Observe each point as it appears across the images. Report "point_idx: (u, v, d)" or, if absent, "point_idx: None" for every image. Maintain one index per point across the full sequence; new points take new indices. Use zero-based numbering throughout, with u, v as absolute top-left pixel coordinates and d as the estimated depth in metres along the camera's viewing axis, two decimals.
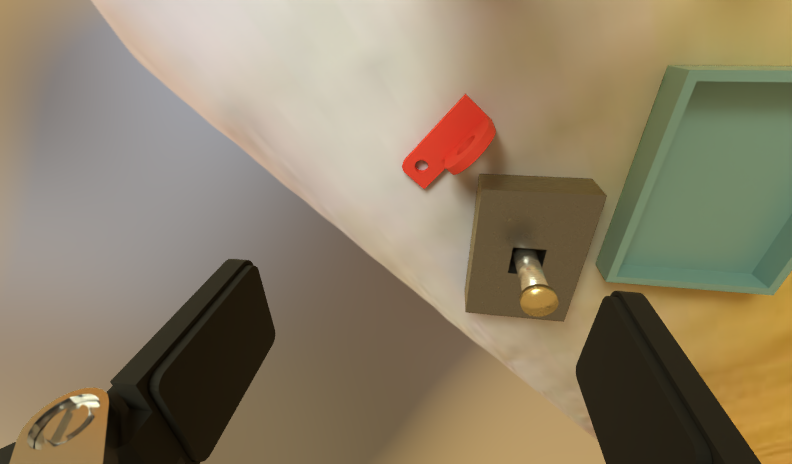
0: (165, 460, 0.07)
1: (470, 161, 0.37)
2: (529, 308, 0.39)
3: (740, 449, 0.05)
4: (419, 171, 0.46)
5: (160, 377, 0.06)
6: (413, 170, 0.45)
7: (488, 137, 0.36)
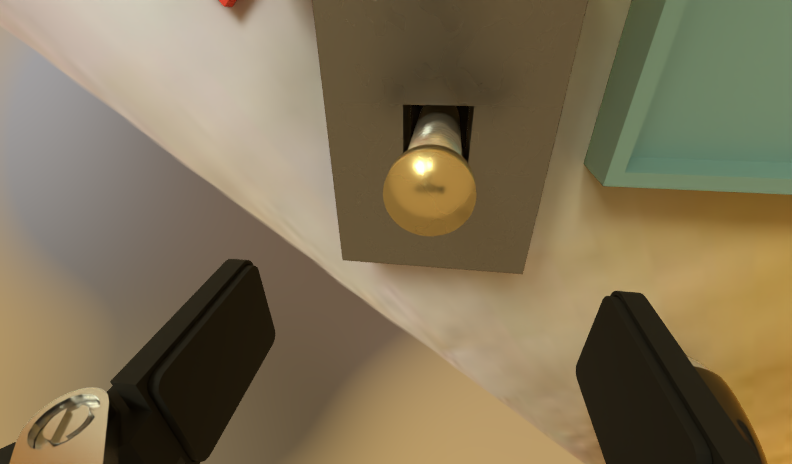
0: (165, 460, 0.07)
1: None
2: (408, 214, 0.15)
3: (740, 449, 0.05)
4: None
5: (160, 377, 0.06)
6: None
7: None
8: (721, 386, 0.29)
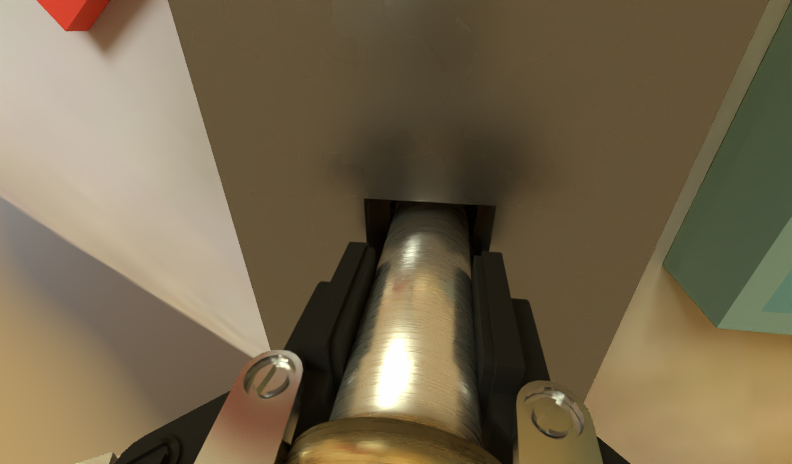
0: None
1: None
2: None
3: (513, 354, 0.06)
4: None
5: (337, 341, 0.07)
6: None
7: None
8: None
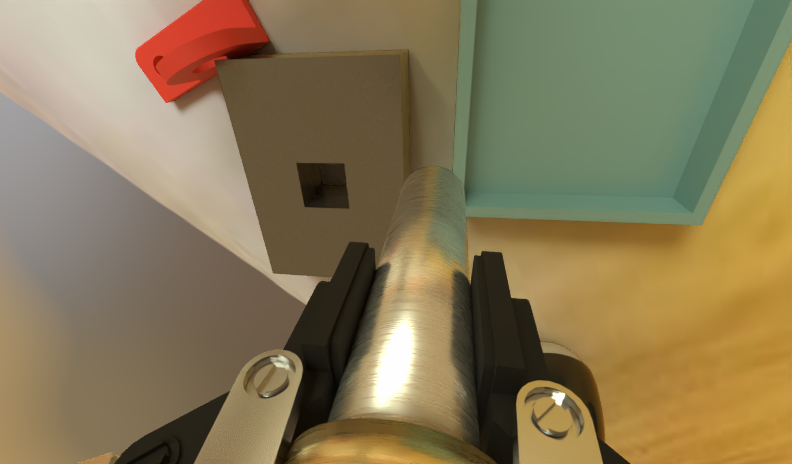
0: None
1: (174, 66, 0.24)
2: None
3: (513, 354, 0.06)
4: None
5: (337, 341, 0.07)
6: (151, 68, 0.31)
7: (213, 43, 0.24)
8: (577, 369, 0.37)
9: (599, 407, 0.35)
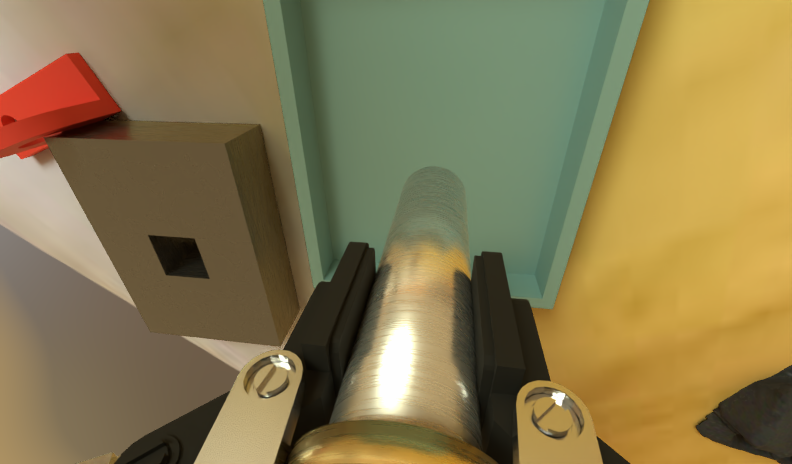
0: None
1: None
2: None
3: (513, 354, 0.06)
4: None
5: (337, 341, 0.07)
6: (0, 125, 0.29)
7: (26, 129, 0.23)
8: None
9: None
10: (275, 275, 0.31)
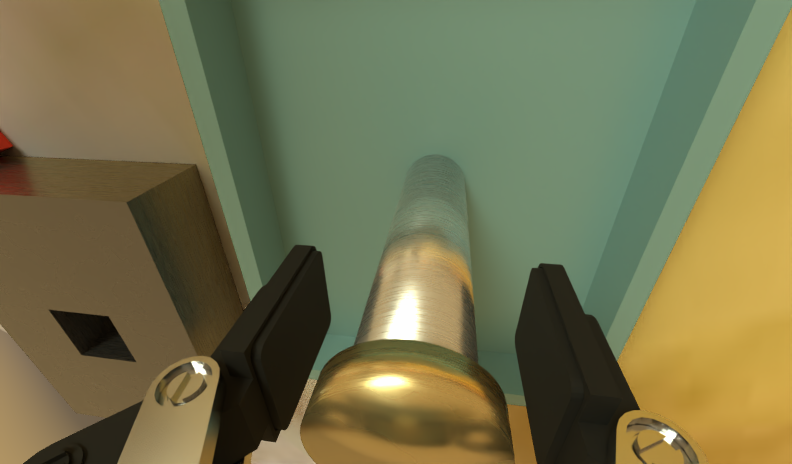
0: (259, 425, 0.07)
1: None
2: None
3: (605, 381, 0.06)
4: None
5: (260, 347, 0.07)
6: None
7: None
8: None
9: None
10: None
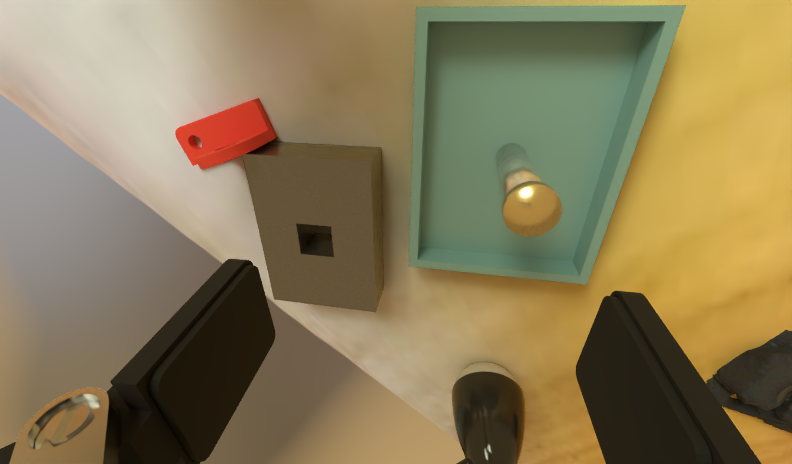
0: (165, 460, 0.07)
1: (209, 163, 0.34)
2: (517, 222, 0.25)
3: (740, 449, 0.05)
4: (194, 146, 0.42)
5: (160, 377, 0.06)
6: (186, 141, 0.41)
7: (237, 151, 0.35)
8: (507, 385, 0.47)
9: (520, 416, 0.45)
10: (377, 257, 0.43)
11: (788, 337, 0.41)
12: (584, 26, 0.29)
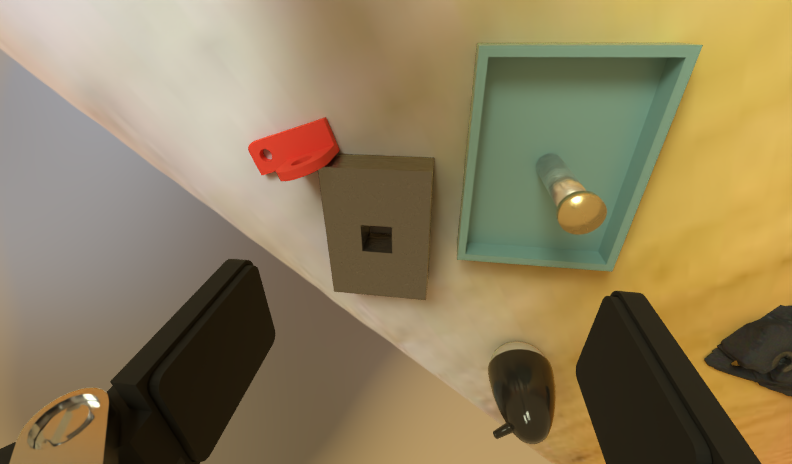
0: (165, 460, 0.07)
1: (292, 177, 0.40)
2: (569, 223, 0.32)
3: (740, 449, 0.05)
4: (263, 158, 0.48)
5: (160, 377, 0.06)
6: (257, 154, 0.47)
7: (316, 165, 0.40)
8: (539, 360, 0.54)
9: (552, 386, 0.52)
10: (428, 252, 0.49)
11: (782, 311, 0.48)
12: (616, 57, 0.35)
